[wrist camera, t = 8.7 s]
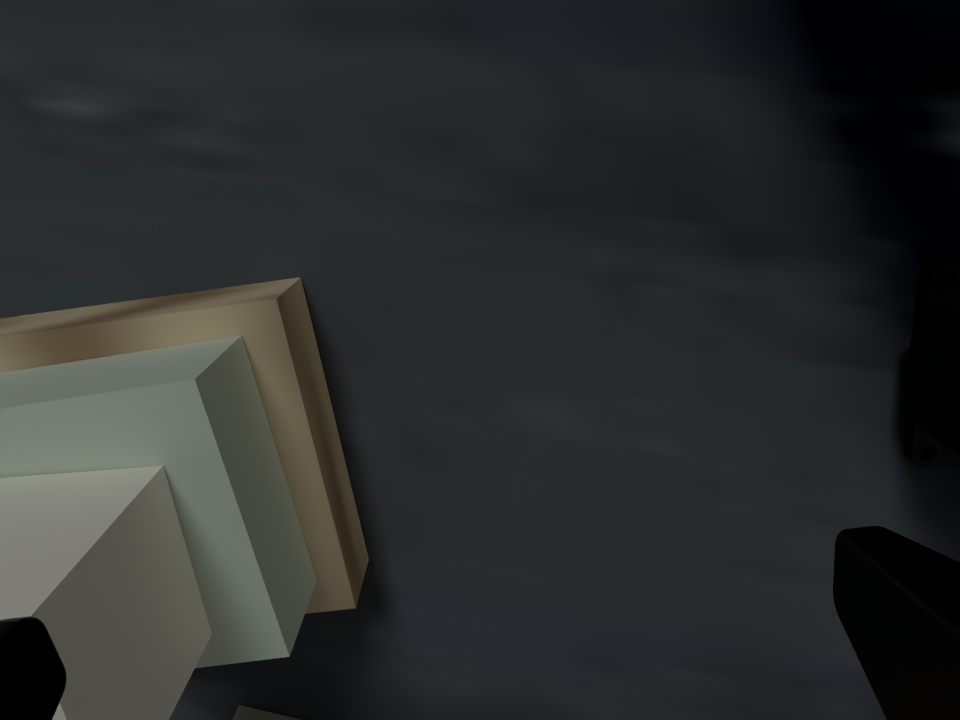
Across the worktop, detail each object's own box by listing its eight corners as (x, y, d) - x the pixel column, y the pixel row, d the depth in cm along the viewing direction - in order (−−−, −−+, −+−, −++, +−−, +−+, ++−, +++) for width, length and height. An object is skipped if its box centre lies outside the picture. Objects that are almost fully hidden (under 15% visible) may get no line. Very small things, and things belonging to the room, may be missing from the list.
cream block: (163, 465, 15) (26, 621, 11) (212, 634, 17) (112, 830, 13) (-47, 481, 16) (-271, 641, 11) (24, 646, 17) (-144, 845, 13)
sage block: (241, 335, 18) (194, 379, 15) (317, 580, 20) (289, 656, 18) (-43, 379, 18) (-140, 430, 15) (69, 612, 21) (4, 691, 18)
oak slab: (306, 272, 20) (276, 299, 17) (371, 548, 23) (356, 608, 21) (-9, 316, 21) (-87, 348, 18) (100, 579, 24) (48, 641, 21)
